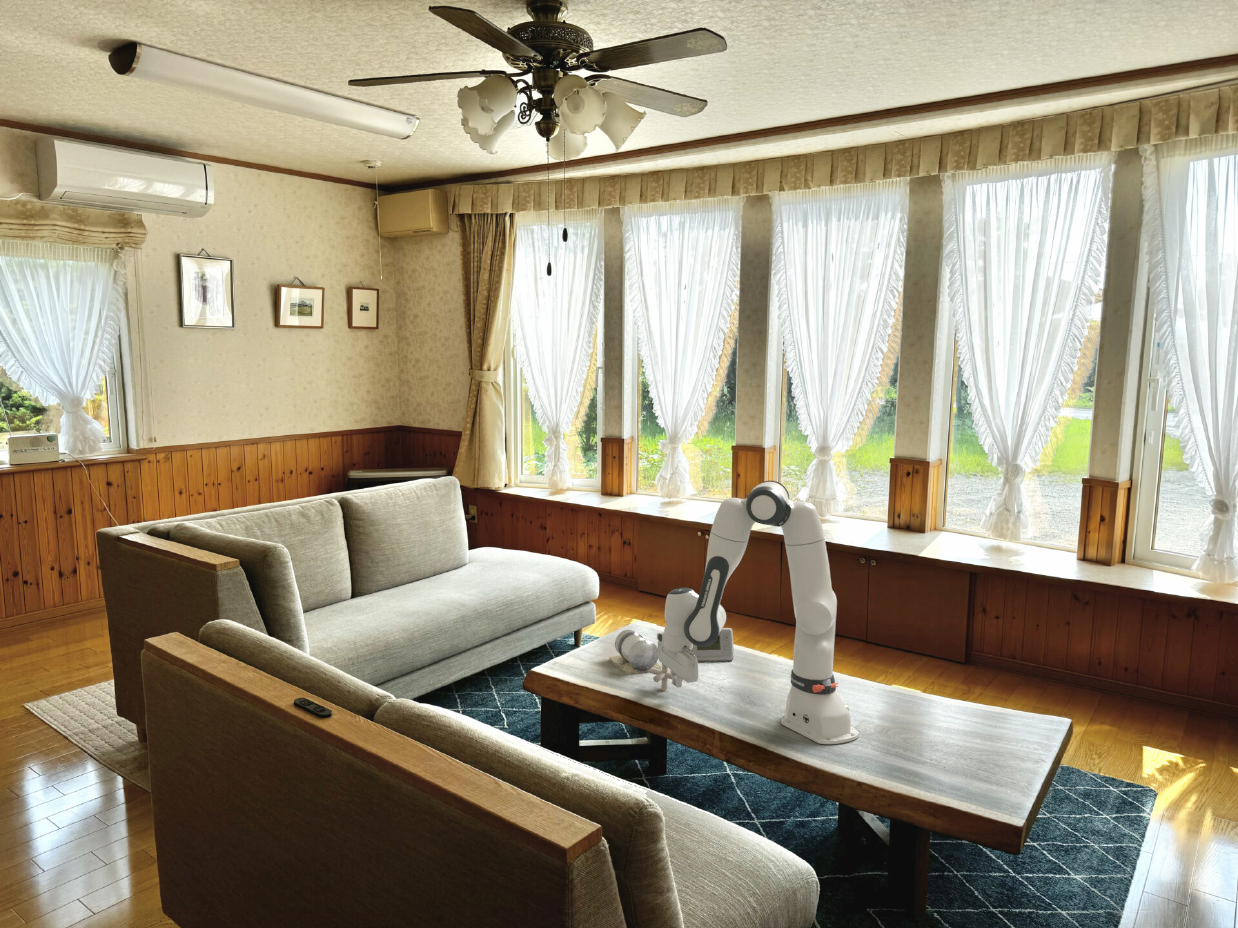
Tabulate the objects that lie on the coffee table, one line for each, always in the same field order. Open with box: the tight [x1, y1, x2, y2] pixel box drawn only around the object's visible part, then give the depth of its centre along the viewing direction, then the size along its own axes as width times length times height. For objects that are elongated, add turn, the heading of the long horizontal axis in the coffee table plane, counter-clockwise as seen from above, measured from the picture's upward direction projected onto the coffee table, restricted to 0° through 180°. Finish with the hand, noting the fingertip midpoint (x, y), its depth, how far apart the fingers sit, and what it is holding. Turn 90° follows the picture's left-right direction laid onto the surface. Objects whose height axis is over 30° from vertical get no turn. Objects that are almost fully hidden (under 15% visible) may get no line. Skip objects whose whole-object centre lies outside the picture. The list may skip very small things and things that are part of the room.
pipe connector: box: [649, 662, 672, 692], centre depth 260 cm, size 10×10×10 cm
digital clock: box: [691, 627, 735, 663], centre depth 287 cm, size 16×9×11 cm, turn 86°
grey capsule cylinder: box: [608, 629, 662, 676], centre depth 280 cm, size 14×13×11 cm
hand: (676, 685), depth 252 cm, fingers closed
